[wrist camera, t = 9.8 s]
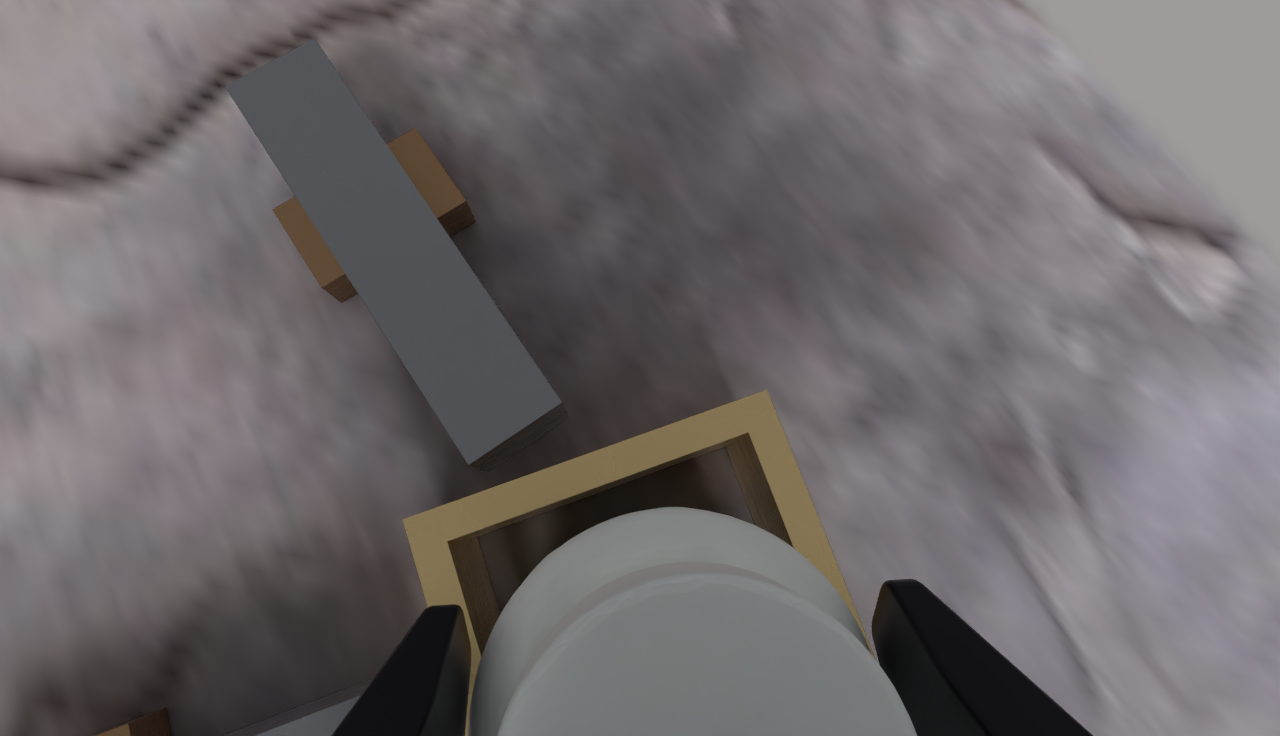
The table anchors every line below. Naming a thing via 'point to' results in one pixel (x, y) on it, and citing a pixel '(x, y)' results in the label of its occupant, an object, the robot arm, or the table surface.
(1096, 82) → the table surface
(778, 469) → the wooden box with ramps
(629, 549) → the supplement bottle
